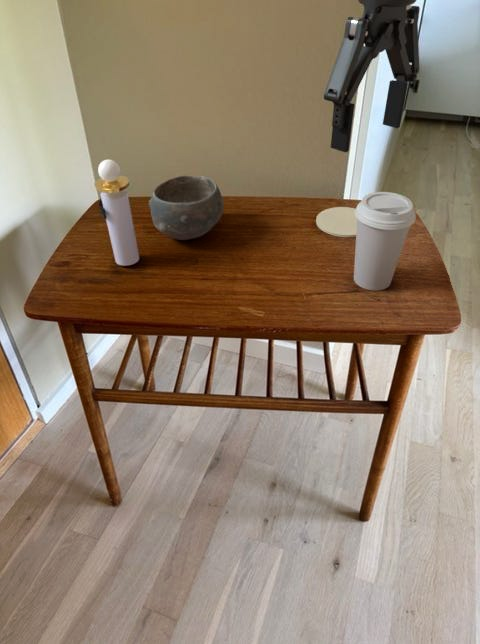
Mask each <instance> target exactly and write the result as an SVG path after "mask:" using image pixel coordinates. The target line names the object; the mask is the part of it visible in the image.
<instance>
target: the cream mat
mask: <svg viewBox="0 0 480 644" xmlns="http://www.w3.org/2000/svg"><path fill="white" fill-rule="evenodd" d="M355 209H356V207H355V208H354V207H347V206H335V207H329V208H325V209H324V210H322V211H321V212H319V213H318V214H317V216H316V219H315V223H316V226H317V227H318V229H319V230H321V231H322V232H324V233H325V234H328V235H331V236H334V237H339V238H348V239H349V238H356V231H357V218H356V216H355Z"/></svg>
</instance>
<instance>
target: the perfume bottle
mask: <svg viewBox="0 0 480 644" xmlns="http://www.w3.org/2000/svg"><path fill="white" fill-rule="evenodd" d="M121 172H122V171H121V167H120V165H119V164H118V162H116V161H115V160H113V159H111V158H110V159H104V160H102V161H101V162H99V164H98V167H97V173H98V176H99V177H100V178H98V179H97V180H95V181H94V190H95V191H97V192H99V193H100V197H99V201H98V207H99V210H100V211H99V212H100V215H101V217H102V219H104V222H105V223H106V226H107V230H108V234H109V240H110V243H111V248H112V252H113V257H114V261H115V263H116V264H117V265H119V266H123V267H127V266H131V265H134V264H136V263H138V262H139V260H140V253H139V247H138V242H137V235H136V231H135V225H134V220H133V215H132V210H131V205H130V204H131V203H130V199H129V194H128V190H127V188H129V186H130V180H129V178H128V177H127V176H125V175H121Z"/></svg>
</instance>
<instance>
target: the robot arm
mask: <svg viewBox="0 0 480 644" xmlns="http://www.w3.org/2000/svg"><path fill="white" fill-rule="evenodd" d="M357 1H358V3H359V4H361V5H362V6H363V13H362V16H361V17H356V16H355V17H353V16H348V17H347V19H346V21H345V28H344V33H343V38H342V41H341V44H340V47H339V50H338V53H337V56H336V59H335V62H334V64H333V67H332V71H331V73H330V75H329V79H328V82H327V85H326V88H325V90H324V93H323V99H324V100H325V101H327V102H332V104H333V111H332V120H331V126H332V131H331V139H330V140H331V141H330V149H332V150H337V151H340V152H343V153H348V152H349V151H350V143H351V135H352V127H353V119H354V111H355V103H352V100H353V99H354V96H355V95H356V93H357V91H358V89H359V87H360V85H361V83H362V80H363V78H364V77H365V75H366V73H367V72H368V69H369V67H370V65H371V63H372V61H373V60H375V59H376V58H377V57H378V56H379V55H380V53H382V52H384V51H385V53H386V56H387V60H388V63H389V67H390V69H391V73H392V76H393V79H392V80H390V81H389V83H388V90H387V95H386V100H385V101H386V102H385V108H384V114H383V119H382V125H383V126H386V127H390V128H394V129H399V128H400V127H401V123H402V117H403V112H404V108H405V107H404V106H405V101H406V96H407V92H408V86H409V83H413V84H414V83H415V82H416V81H417V79H418V78H417V77H418V74H419V73H420V50H419V49H420V46H419V18H420V10H421V9H420V6H419V5H414V4H415V3H416V2H417V0H357Z"/></svg>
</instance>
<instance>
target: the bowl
mask: <svg viewBox="0 0 480 644" xmlns="http://www.w3.org/2000/svg"><path fill="white" fill-rule="evenodd" d="M220 190H221V189H220V188H219V186H218V184H217V183H216V181H215V180H213V179H212V178H210V177H207V176H203V175H193V174H188V175H180V176H175V177H172V178H169V179H167V180H165V181H163V182H161V183H159V185H157V186H156V187H155V188H154V190H153V191H152V195H151V197H150V199H149V200H148V206H149V209H150V215H151V216H150V217H151V220H152V223H153V226H154V227H155V229H157V230H158V231H159V232H161V234H163V235H164V236H166V237H168V238H171V239H174V240H177V241H178V240H179V241H189V240H192V239H196V238H201V237H202V236H204V235H205V234H207V233H208V232H210V231H211V230H212V229H213V228H214V227H215V226H216V224H217V223H218V222H219V221H220V219H221V218H222V216H223V213H224V199H225V198H223V196H222V193H221V191H220Z"/></svg>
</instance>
